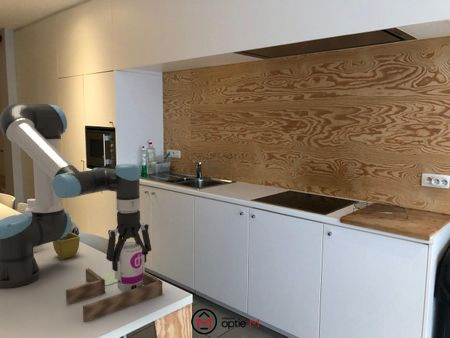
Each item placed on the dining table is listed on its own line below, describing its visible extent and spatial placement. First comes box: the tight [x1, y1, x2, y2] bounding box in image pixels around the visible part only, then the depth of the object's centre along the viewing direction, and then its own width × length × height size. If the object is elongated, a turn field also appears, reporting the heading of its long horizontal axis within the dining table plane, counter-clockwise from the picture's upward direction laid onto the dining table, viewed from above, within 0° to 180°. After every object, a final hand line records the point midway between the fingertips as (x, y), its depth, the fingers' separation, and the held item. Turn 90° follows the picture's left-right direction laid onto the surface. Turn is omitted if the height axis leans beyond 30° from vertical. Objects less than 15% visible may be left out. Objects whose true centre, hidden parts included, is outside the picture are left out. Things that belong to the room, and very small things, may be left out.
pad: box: [99, 271, 118, 287], centre depth 137 cm, size 10×9×1 cm
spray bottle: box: [23, 198, 44, 253], centre depth 165 cm, size 7×7×25 cm
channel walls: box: [65, 267, 163, 323], centre depth 126 cm, size 27×28×4 cm
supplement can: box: [117, 241, 144, 293], centre depth 124 cm, size 8×8×15 cm
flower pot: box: [52, 232, 81, 260], centre depth 159 cm, size 9×9×9 cm
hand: (130, 275), depth 125 cm, fingers closed on supplement can, 8 cm apart
